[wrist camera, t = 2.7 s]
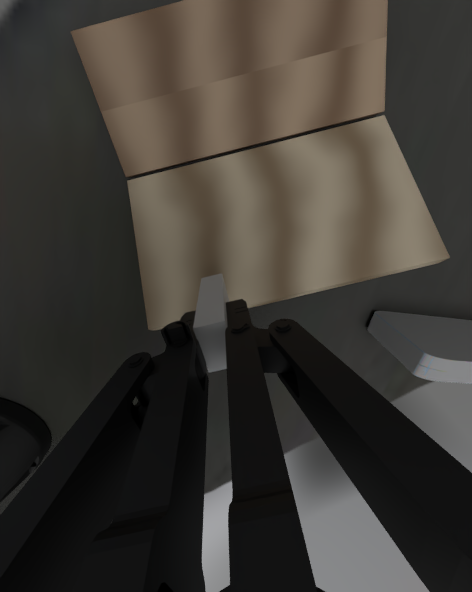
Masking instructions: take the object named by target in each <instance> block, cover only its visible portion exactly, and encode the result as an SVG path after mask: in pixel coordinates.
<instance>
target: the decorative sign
mask: <svg viewBox="0 0 472 592" xmlns="http://www.w3.org/2000/svg"><path fill="white" fill-rule="evenodd" d="M367 331H369V332H370V333H371V334H372V335H373V336H374V337H375V338H376V339H377V340H378V341H379V342H380V343H381V344H382V345H383V346H384V347H385V348H386V349H387V350H388V351H389V352H390V353H391V354H392V355H394V356H395V357H396V358H397V359H398V360H399V361H400V362H401V363H402V364H403V365H404V366H405V367H406V368H407V369H408V370H409V371H410V372H411V373H412V374H414V375H415V376H418V377H420V378H424V379H427V380H432V381H439V382H453V383H467V384H472V320H465V319H455V318H446V317H436V316H427V315H417V314H408V313H398V312H389V311H375V312H374V314H373V317H372V319H371V320H370V324H369V326H368V329H367Z"/></svg>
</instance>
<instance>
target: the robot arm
mask: <svg viewBox="0 0 472 592" xmlns="http://www.w3.org/2000/svg"><path fill="white" fill-rule="evenodd" d="M161 333H162V336H163V338H164V340H165V343H166V345H167V346H166V350H165V352H164V353H162V354H160V355H157V356H155V357H153V358H151V356H150V354H149V353H146V352H142V353H137V354H135V355H133V356H131V357H130V358H128V359H127V360H126V361H125V362H124V363H123V364H122V365H121V367H120V368H119V369H118V370H117V372H116V373H115V374H114V375H113V376H112V378H111V379H110V380H109V381H108V383H107V384H106V385H105V386H104V388H103V389H102V390H101V391H100V393H99V394H98V395H97V396H96V398H95V399H94V400H93V401H92V403H91V404H90V405H89V406H88V407H87V409H86V410H85V411H84V412H83V414H82V415H81V416H80V417H79V419H78V420H77V421H76V422H75V424H74V425H73V426H72V427H71V429H70V430H69V431H68V432H67V433H66V435H65V436H64V437H63V438H62V440H61V441H60V442H59V443H58V445H57V446H56V447H55V448H54V450H53V451H52V452H51V453H50V455H49V456H48V457H47V458H46V460H45V461H44V462H43V463H42V464H41V466H40V467H39V468H38V469H37V471H36V472H35V473H34V474H33V476H32V477H31V478H30V479H29V481H28V482H27V483H26V484H25V486H24V487H23V488H22V489H21V490H20V492H19V493H18V494H17V495H16V497H15V498H14V499H13V500H12V502H11V503H10V504H9V505H8V507H7V508H6V509H5V510H4V512H3V513H2V514H1V515H0V592H205V582H204V576H203V570H202V532H203V507H204V482H205V456H206V431H207V406H208V381H209V380H208V376H207V374H206V366H207V369H208V372H209V373H210V372H214V371H219V370H223V369H227V385H228V405H229V426H230V447H231V467H232V488H233V498H232V502H231V504H230V505H229V513H228V514H229V515H228V517H229V518H228V523H229V524H228V527H229V558H230V585H229V586H228V587H226V588H224V589H223V590H221V591H220V592H325V591H323V590H321V589H320V588H318V587H316V585H315V581H314V577H313V573H312V569H311V564H310V560H309V556H308V553H307V548H306V544H305V540H304V536H303V532H302V528H301V524H300V519H299V515H298V512H297V507H296V503H295V499H294V495H293V491H292V487H291V483H290V479H289V475H288V471H287V467H286V463H285V459H284V454H283V450H282V446H281V442H280V438H279V434H278V430H277V426H276V422H275V417H274V413H273V409H272V405H271V401H270V397H269V393H268V389H267V385H266V380H265V376H264V373H277V374H278V377H279V378H280V380H281V381H282V383H283V384H284V385H285V387H286V388H287V390H288V391H289V393H290V394H291V395H292V397H293V398H294V400H295V401H296V403H297V404H298V405H299V407H300V408H301V410H302V411H303V413H304V414H305V415H306V417H307V418H308V420H309V421H310V423H311V424H312V425H313V427H314V428H315V430H316V431H317V433H318V434H319V435H320V437H321V438H322V440H323V441H324V442H325V444H326V445H327V447H328V448H329V450H330V451H331V452H332V454H333V455H334V457H335V458H336V460H337V461H338V462H339V464H340V465H341V467H342V468H343V470H344V471H345V473H346V474H347V475H348V477H349V478H350V480H351V481H352V483H353V484H354V485H355V486H356V488H357V490H358V491H359V492H360V494H361V495H362V497H363V498H364V500H365V501H366V502H367V504H368V505H369V507H370V508H371V509H372V511H373V512H374V514H375V515H376V517H377V518H378V520H379V521H380V522H381V524H382V525H383V527H384V528H385V530H386V531H387V532H388V534H389V535H390V537H391V538H392V540H393V541H394V542H395V544H396V545H397V547H398V548H399V550H400V551H401V552H402V554H403V555H404V557H405V558H406V560H407V561H408V562H409V564H410V565H411V567H412V568H413V570H414V571H415V572H416V574H417V575H418V577H419V578H420V579H421V581H422V582H423V583H424V584H425V586H426V587H427V589H428V590H429V591H430V592H472V473H471V472H470V471H469V470H468V469H466V468H465V467H464V466H463V465H462V464H461V463H460V462H458V461H457V460H456V459H455V458H454V457H453V456H451V455H450V454H449V453H448V452H447V451H446V450H444V449H443V448H442V447H441V446H440V445H439V444H437V443H436V442H435V441H434V440H433V439H432V438H430V437H429V436H428V435H427V434H426V433H424V432H423V431H422V430H421V429H420V428H419V427H418V426H416V425H415V424H414V423H413V422H412V421H410V419H408V418H407V417H406V416H405V415H404V414H403V413H401V412H400V411H399V410H398V409H397V408H396V407H394V406H393V405H392V404H391V403H390V402H389V401H387V400H386V399H385V398H384V397H383V396H382V395H381V394H379V393H378V392H377V391H376V390H375V389H374V388H372V387H371V386H370V385H369V384H368V383H367V382H365V381H364V380H363V379H362V378H361V377H360V376H358V375H357V374H356V373H355V372H354V371H353V370H351V369H350V368H349V367H348V366H347V365H346V364H345V363H343V362H342V361H341V360H340V359H339V358H338V357H336V356H335V355H334V354H333V353H332V352H331V351H329V350H328V349H327V348H326V347H325V346H324V345H322V344H321V343H320V342H319V341H318V340H317V339H315V338H314V337H313V336H312V335H311V334H310V333H308V332H307V331H306V330H305V329H304V328H303V327H302V326H300V325H299V324H298V323H297V322H295V321H294V320H291V319H280V320H276V321H274V322H273V323H271V324H270V325H269V328H268V329H259V328H256V327H254V326H253V325H252V323H251V319H250V315H249V311H248V307H247V303H246V301H244V300H243V299H238V300H234V301H229V298H228V294H227V290H226V286H225V283H224V279H223V275H222V273H221V274H217V275H213V276H208V277H204V278H201V283H200V289H199V295H198V301H197V307H196V310H195V311H190V312H186V313H185V314H184V315H183V316H182V317H181V319H180V321H175V322H172V323H170V324H168V325H166V326H165V327H164V328H163V329H162V330H161ZM135 397H137V399H138V403H137V404H136V405H135V406H134V405H133V403H132V401H133V400H134V398H135ZM50 445H51V435H50V432H49V430H48V428H47V427H46V425H45V424H44V423H43V421H42V420H41V419H40V418H39V417H37V416H36V415H35V414H34V413H32V412H31V411H29V410H27V409H26V408H24V407H22V406H20V405H18V404H15V403H13V402H10V401H7V400H3V399H0V502H1V501H2V500H4V499H5V498H6V497H7V496H8V495H9V494H10V493H11V492H12V491H13V490H14V489H15V488H16V487H17V486H18V485H19V484H20V483H21V482H22V481H23V480H24V479H25V478H27V477H28V475H29V474H31V473H32V472H33V471H34V470H35V469H36V468H37V467H38V465H39V464H40V463H41V461H42V460H43V458H44V456H45V455H46V453H47V452H48V450H49V448H50ZM112 520H113V521H112ZM111 522H112V523H111Z"/></svg>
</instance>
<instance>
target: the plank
mask: <svg viewBox="0 0 472 592" xmlns="http://www.w3.org/2000/svg"><path fill="white" fill-rule="evenodd" d="M127 183H128V190H129V197H130V204H131V211H132V218H133V225H134V232H135V239H136V246H137V253H138V260H139V267H140V274H141V281H142V288H143V295H144V302H145V309H146V316H147V323H148V329H149V330H154V331H155V330H159V329H163V328H164V327H165V326H166V325H168V324H170V323H172V322H175V321H180V319H181V317H182V316H183V315H184V314H185V313H186V312H190V311H195V310H196V307H197V301H198V295H199V289H200V283H201V278H204V277H208V276H213V275H217V274H221V273H222V275H223V279H224V283H225V286H226V290H227V294H228V298H229V301H234V300H238V299H243V300H244V301H246V303H247V307H248V308H251V307H256V306H260V305H264V304H268V303H272V302H277V301H281V300H285V299H289V298H294V297H298V296H302V295H306V294H310V293H315V292H319V291H323V290H327V289H331V288H336V287H340V286H344V285H348V284H352V283H357V282H361V281H365V280H369V279H373V278H378V277H382V276H386V275H390V274H394V273H399V272H403V271H407V270H411V269H416V268H420V267H424V266H428V265H432V264H437V263H440V262H442V261H444V260H446V259H448V258H450V257H449V254H448V252H447V250H446V248H445V246H444V244H443V241H442V239H441V237H440V235H439V233H438V231H437V228H436V226H435V224H434V222H433V220H432V218H431V215H430V213H429V211H428V209H427V207H426V205H425V202H424V200H423V198H422V196H421V194H420V192H419V189H418V187H417V185H416V183H415V181H414V178H413V176H412V174H411V172H410V170H409V168H408V165H407V163H406V161H405V159H404V157H403V155H402V152H401V150H400V148H399V146H398V144H397V142H396V139H395V137H394V135H393V133H392V131H391V129H390V126H389V124H388V122H387V120H386V118H385V116H384V115H383V116H379V117H375V118H371V119H367V120H363V121H359V122H356V123H352V124H348V125H344V126H340V127H336V128H332V129H328V130H324V131H320V132H316V133H312V134H308V135H304V136H301V137H297V138H293V139H289V140H285V141H281V142H277V143H273V144H269V145H265V146H261V147H257V148H253V149H250V150H246V151H242V152H238V153H234V154H230V155H226V156H222V157H218V158H214V159H210V160H206V161H202V162H198V163H195V164H191V165H187V166H183V167H179V168H175V169H171V170H167V171H163V172H159V173H155V174H151V175H147V176H143V177H140V178H136V179H132V180H128V181H127Z"/></svg>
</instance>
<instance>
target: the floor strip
mask: <svg viewBox="0 0 472 592" xmlns="http://www.w3.org/2000/svg"><path fill="white" fill-rule="evenodd" d="M387 4H388V0H184V1H180V2H176V3H173V4H169V5H165V6H162V7H158V8H154V9H151V10H147V11H143V12H140V13H136V14H132V15H129V16H125V17H121V18H118V19H114V20H110V21H107V22H103V23H99V24H96V25H92V26H88V27H85V28H81V29H77V30H74V31H71V34H72V36H73V39H74V42H75V44H76V47H77V50H78V52H79V55H80V57H81V60H82V63H83V65H84V68H85V71H86V73H87V76H88V79H89V81H90V84H91V86H92V89H93V92H94V94H95V97H96V100H97V102H98V105H99V108H100V110H101V113H102V115H103V118H104V121H105V123H106V126H107V129H108V131H109V134H110V137H111V139H112V142H113V144H114V147H115V150H116V152H117V155H118V158H119V160H120V163H121V166H122V168H123V171H124V173H125V176H126V177H134V176H138V175H142V174H146V173H150V172H153V171H157V170H161V169H165V168H169V167H173V166H177V165H181V164H185V163H189V162H193V161H197V160H201V159H204V158H208V157H212V156H216V155H220V154H224V153H228V152H232V151H236V150H240V149H244V148H248V147H252V146H255V145H259V144H263V143H267V142H271V141H275V140H279V139H283V138H287V137H291V136H295V135H299V134H303V133H306V132H310V131H314V130H318V129H322V128H326V127H330V126H334V125H338V124H342V123H346V122H350V121H354V120H357V119H361V118H365V117H369V116H373V115H377V114H379V113H381V112H384V109H385V74H386V39H387Z"/></svg>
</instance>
